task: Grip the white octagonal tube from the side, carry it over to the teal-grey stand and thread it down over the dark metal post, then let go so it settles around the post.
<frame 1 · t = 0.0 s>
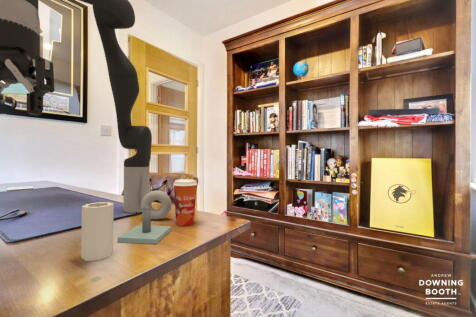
hand: (13, 114, 41), 29 cm above the table, tool pointing down, fingers open, 8 cm apart
paper cup: (185, 224, 71), on the table
peg stand: (146, 235, 60), on the table
donut: (156, 220, 75), on the table
white octagonal tube: (97, 254, 48), on the table
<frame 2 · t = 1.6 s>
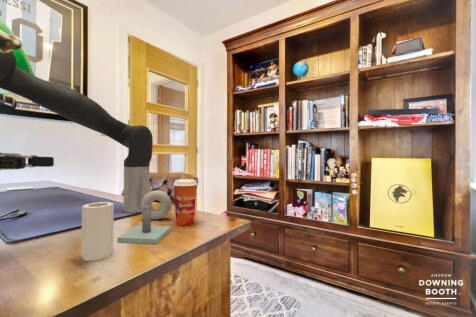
hand: (39, 162, 46), 20 cm above the table, tool horizontal, fingers open, 8 cm apart
nothing on the table moved.
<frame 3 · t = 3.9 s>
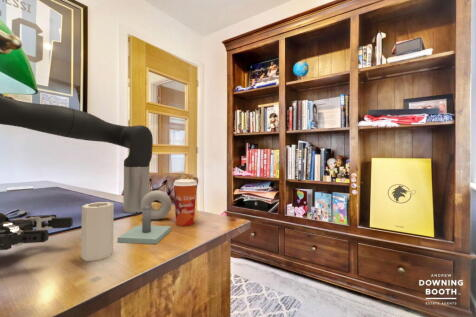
hand: (60, 228, 47), 6 cm above the table, tool horizontal, fingers open, 8 cm apart
nothing on the table moved.
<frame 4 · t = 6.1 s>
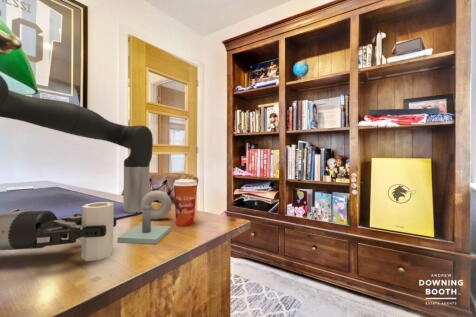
hand: (110, 226, 49), 6 cm above the table, tool horizontal, fingers closed on white octagonal tube, 5 cm apart
white octagonal tube: (97, 254, 48), on the table, touching gripper
everything else where it was.
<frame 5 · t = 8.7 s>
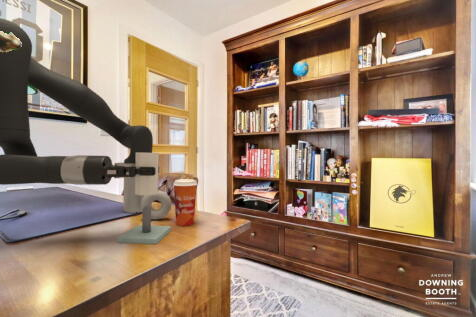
hand: (156, 170, 60), 18 cm above the table, tool horizontal, fingers closed on white octagonal tube, 5 cm apart
white octagonal tube: (146, 193, 60), point 12 cm above the table, touching gripper
everything else where it was.
when the fingers open (8 cm above the table, at t = 11.4 s): white octagonal tube stays where it is, resting on peg stand.
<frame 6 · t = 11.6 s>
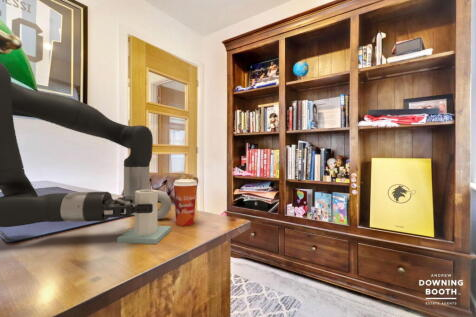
hand: (155, 204, 60), 8 cm above the table, tool horizontal, fingers open, 7 cm apart
white octagonal tube: (146, 231, 60), point 1 cm above the table, touching peg stand
everything else where it was.
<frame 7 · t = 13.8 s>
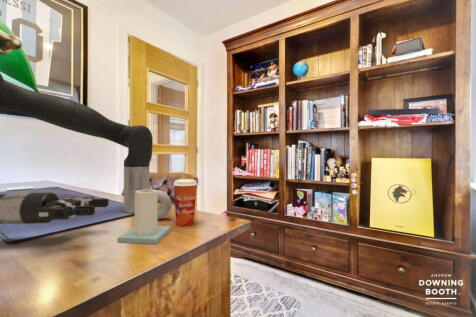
hand: (101, 206, 57), 8 cm above the table, tool horizontal, fingers open, 8 cm apart
nothing on the table moved.
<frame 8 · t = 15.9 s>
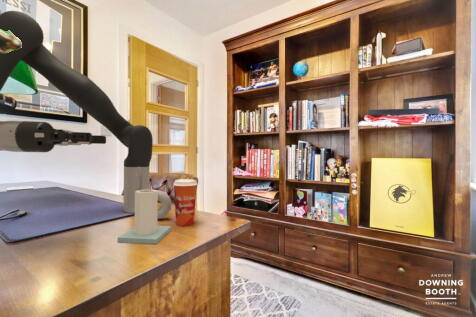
hand: (99, 138, 57), 26 cm above the table, tool horizontal, fingers open, 8 cm apart
nothing on the table moved.
at the end: white octagonal tube 0.1 cm off-centre on the peg stand, point 1.2 cm above the peg stand's base; white octagonal tube tilted 0°; the gripper is holding nothing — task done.
